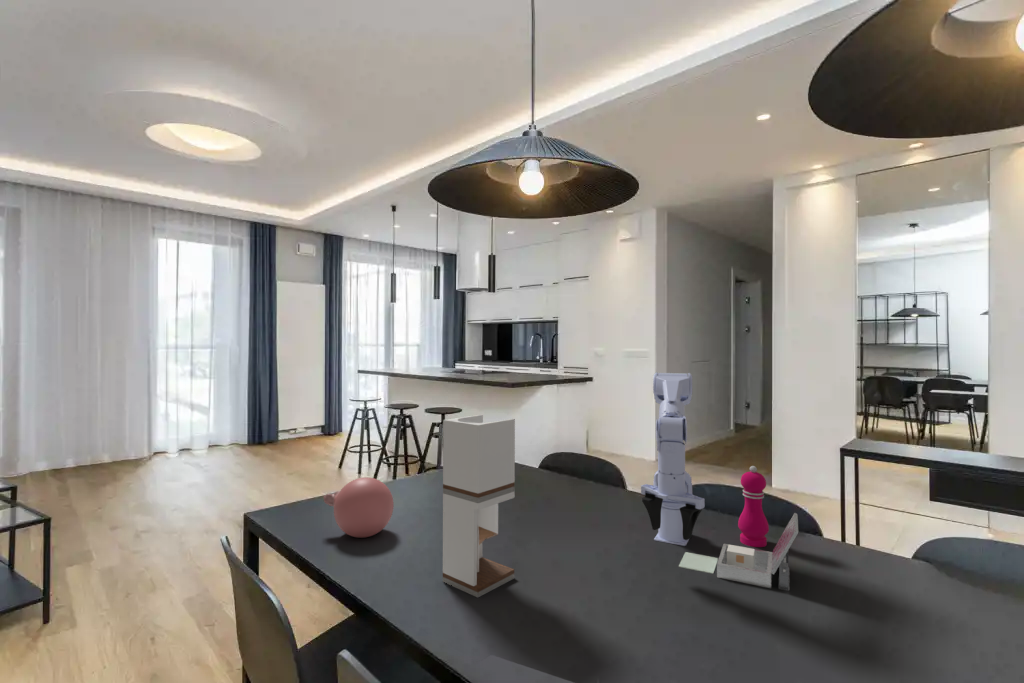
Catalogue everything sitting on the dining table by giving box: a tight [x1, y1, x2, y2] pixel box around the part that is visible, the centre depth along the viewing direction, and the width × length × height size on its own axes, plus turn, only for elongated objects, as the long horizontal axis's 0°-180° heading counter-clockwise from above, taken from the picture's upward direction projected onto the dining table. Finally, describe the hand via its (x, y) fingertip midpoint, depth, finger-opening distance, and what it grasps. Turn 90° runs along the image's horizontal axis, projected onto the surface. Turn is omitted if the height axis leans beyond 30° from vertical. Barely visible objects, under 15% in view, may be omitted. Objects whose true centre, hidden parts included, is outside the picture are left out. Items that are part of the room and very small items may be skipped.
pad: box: [678, 551, 719, 574], centre depth 120 cm, size 9×8×1 cm
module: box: [727, 544, 756, 570], centre depth 116 cm, size 4×6×4 cm
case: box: [716, 543, 790, 592], centre depth 115 cm, size 13×14×5 cm
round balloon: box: [322, 476, 395, 539], centre depth 137 cm, size 15×20×15 cm
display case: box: [442, 414, 516, 599], centre depth 111 cm, size 11×11×35 cm
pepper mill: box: [737, 465, 770, 548], centre depth 132 cm, size 7×7×20 cm
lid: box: [771, 512, 799, 575], centre depth 112 cm, size 13×11×1 cm
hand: (671, 533), depth 112 cm, fingers open, 7 cm apart
